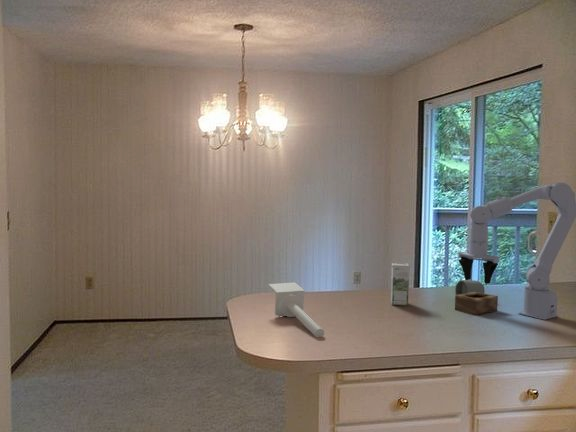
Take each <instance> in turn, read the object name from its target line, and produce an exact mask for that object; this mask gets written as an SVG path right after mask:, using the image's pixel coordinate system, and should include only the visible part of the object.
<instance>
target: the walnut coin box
mask: <svg viewBox="0 0 576 432" xmlns="http://www.w3.org/2000/svg"><path fill="white" fill-rule="evenodd" d="M454 295H455V294H454ZM473 297H478V298H473ZM498 301H499V297H498V295H494V294H488V293H485V292H484V293H480V292H470V293H465V294H459V295H455V297H454V310H455V311H458V310H459V312H462V311H463V312H462V313H466V312H467V313H468V314H470V313H471V315H475V316H480V315H485V314H490V313H493V312H498V306H499V304H498ZM467 313H466V314H467Z"/></svg>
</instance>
